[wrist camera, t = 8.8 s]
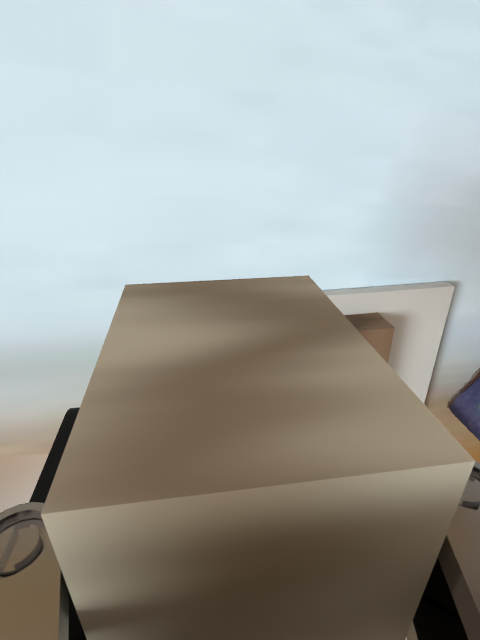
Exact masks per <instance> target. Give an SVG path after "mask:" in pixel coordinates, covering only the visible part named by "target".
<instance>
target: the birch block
mask: <svg viewBox="0 0 480 640" xmlns="http://www.w3.org/2000/svg"><path fill="white" fill-rule="evenodd" d="M474 464H475V460H474V459H473V458H472V457H471V456H470V454H469V453H468V452H467V451H466V450H465V449H464V448H463V447H462V446H461V444H460V443H459V442H458V441H457V440H456V439H455V438H454V437H453V436H452V434H451V433H450V432H449V431H448V430H447V429H446V428H445V427H444V426H443V424H442V423H441V422H440V421H439V420H438V419H437V418H436V417H435V416H434V414H433V413H432V412H431V411H430V410H429V409H428V408H427V407H426V406H425V404H424V403H423V402H422V401H421V400H420V399H419V398H418V397H417V396H416V395H415V393H414V392H413V391H412V390H411V389H410V388H409V387H408V386H407V385H406V383H405V382H404V381H403V380H402V379H401V378H400V377H399V376H398V375H397V373H396V372H395V371H394V370H393V369H392V368H391V367H390V366H389V365H388V363H387V362H386V361H385V360H384V359H383V358H382V357H381V356H380V355H379V353H378V352H377V351H376V350H375V349H374V348H373V347H372V346H371V345H370V343H369V342H368V341H367V340H366V339H365V338H364V337H363V336H362V335H361V333H360V332H359V331H358V330H357V329H356V328H355V327H354V326H353V325H352V323H351V322H350V321H349V320H348V319H347V318H346V317H345V316H344V315H343V313H342V312H341V311H340V310H339V309H338V308H337V307H336V306H335V305H334V303H333V302H332V301H331V300H330V299H329V298H328V297H327V296H326V295H325V293H324V292H323V291H322V290H321V289H320V288H319V287H318V286H317V285H316V283H315V282H314V281H313V280H312V279H311V278H310V277H309V276H292V277H272V278H252V279H232V280H212V281H192V282H172V283H152V284H132V285H125V288H124V290H123V293H122V296H121V298H120V301H119V304H118V307H117V309H116V312H115V315H114V317H113V320H112V323H111V325H110V328H109V331H108V334H107V336H106V339H105V342H104V344H103V347H102V350H101V352H100V355H99V358H98V361H97V363H96V366H95V369H94V371H93V374H92V377H91V380H90V382H89V385H88V388H87V390H86V393H85V396H84V398H83V401H82V404H81V407H80V409H79V412H78V415H77V417H76V420H75V423H74V425H73V428H72V431H71V434H70V436H69V439H68V442H67V444H66V447H65V450H64V453H63V455H62V458H61V461H60V463H59V466H58V469H57V471H56V474H55V477H54V480H53V482H52V485H51V488H50V490H49V493H48V496H47V498H46V501H45V504H44V507H43V509H42V512H41V517H42V519H43V522H44V525H45V527H46V530H47V533H48V536H49V538H50V541H51V544H52V546H53V549H54V552H55V555H56V557H57V560H58V563H59V565H60V568H61V571H62V574H63V576H64V579H65V582H66V584H67V587H68V590H69V593H70V595H71V598H72V601H73V603H74V606H75V609H76V612H77V614H78V617H79V620H80V622H81V625H82V628H83V631H84V633H85V636H86V639H87V640H405V638H406V635H407V633H408V630H409V628H410V625H411V623H412V620H413V618H414V615H415V613H416V610H417V608H418V605H419V603H420V600H421V598H422V595H423V592H424V590H425V587H426V585H427V582H428V580H429V577H430V575H431V572H432V570H433V567H434V565H435V562H436V560H437V557H438V555H439V552H440V549H441V547H442V544H443V542H444V539H445V537H446V534H447V532H448V529H449V527H450V524H451V522H452V519H453V517H454V514H455V512H456V509H457V507H458V504H459V501H460V499H461V496H462V494H463V491H464V489H465V486H466V484H467V481H468V479H469V476H470V474H471V471H472V469H473V466H474Z"/></svg>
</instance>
